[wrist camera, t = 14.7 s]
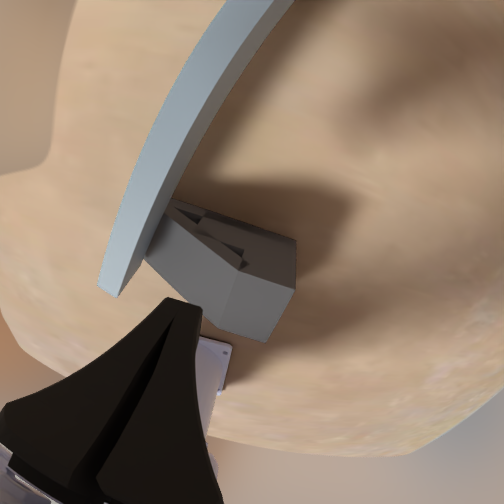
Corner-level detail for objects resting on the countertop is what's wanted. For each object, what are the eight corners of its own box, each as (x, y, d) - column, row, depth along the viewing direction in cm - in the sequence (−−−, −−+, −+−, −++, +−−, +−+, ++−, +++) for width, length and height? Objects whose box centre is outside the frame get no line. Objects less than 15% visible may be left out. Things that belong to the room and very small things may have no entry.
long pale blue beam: (140, 265, 19) (116, 298, 16) (122, 254, 19) (96, 285, 16) (299, -6, 9) (301, -32, 6) (272, -19, 9) (266, -48, 6)
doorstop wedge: (296, 240, 19) (295, 289, 14) (272, 290, 21) (265, 343, 17) (151, 191, 18) (112, 225, 14) (144, 246, 20) (111, 287, 16)
